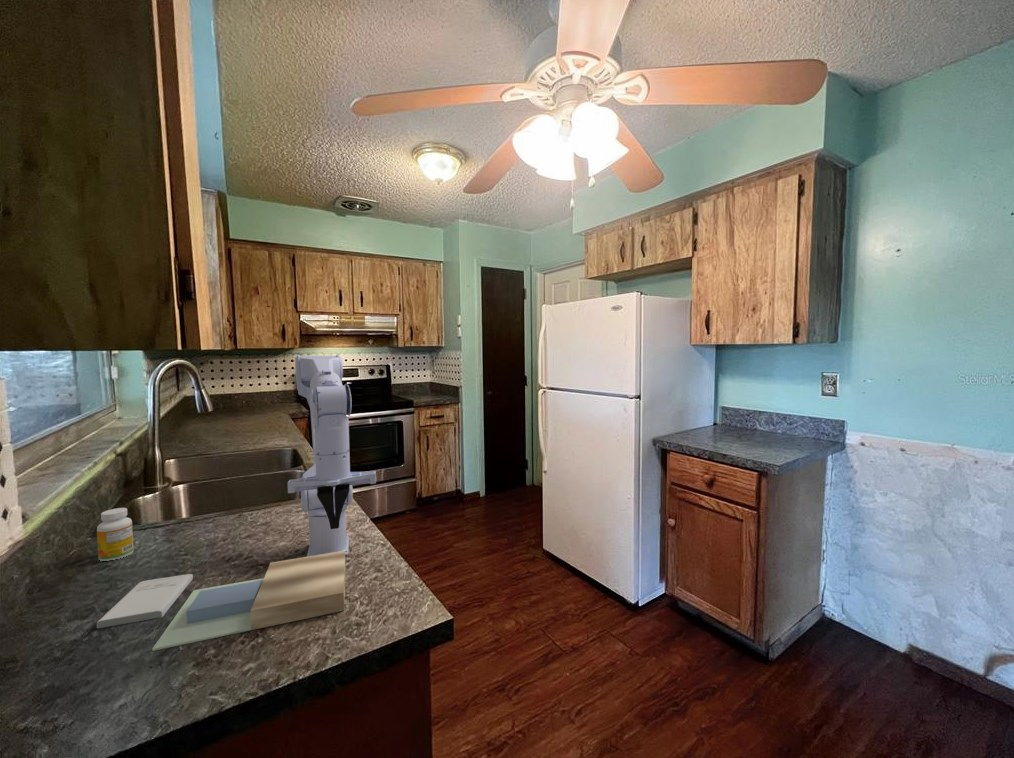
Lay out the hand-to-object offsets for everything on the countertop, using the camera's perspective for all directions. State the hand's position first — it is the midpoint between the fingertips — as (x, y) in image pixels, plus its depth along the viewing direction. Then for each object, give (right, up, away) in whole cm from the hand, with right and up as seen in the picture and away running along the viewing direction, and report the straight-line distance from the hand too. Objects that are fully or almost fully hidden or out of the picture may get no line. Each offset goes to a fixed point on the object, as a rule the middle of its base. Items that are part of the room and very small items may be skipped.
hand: (335, 526), depth 74 cm
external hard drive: (-30, -12, -4) cm, 32 cm away
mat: (-16, -11, -7) cm, 20 cm away
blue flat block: (-15, -11, -7) cm, 19 cm away
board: (-4, -11, -3) cm, 12 cm away
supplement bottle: (-52, -11, +12) cm, 54 cm away
